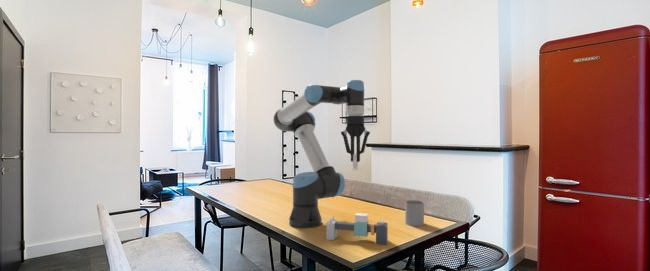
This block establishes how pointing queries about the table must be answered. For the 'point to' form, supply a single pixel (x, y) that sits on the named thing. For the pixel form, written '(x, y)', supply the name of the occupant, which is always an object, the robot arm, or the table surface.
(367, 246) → the table surface
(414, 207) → the cup
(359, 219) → the sleeve
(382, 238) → the slider rail
